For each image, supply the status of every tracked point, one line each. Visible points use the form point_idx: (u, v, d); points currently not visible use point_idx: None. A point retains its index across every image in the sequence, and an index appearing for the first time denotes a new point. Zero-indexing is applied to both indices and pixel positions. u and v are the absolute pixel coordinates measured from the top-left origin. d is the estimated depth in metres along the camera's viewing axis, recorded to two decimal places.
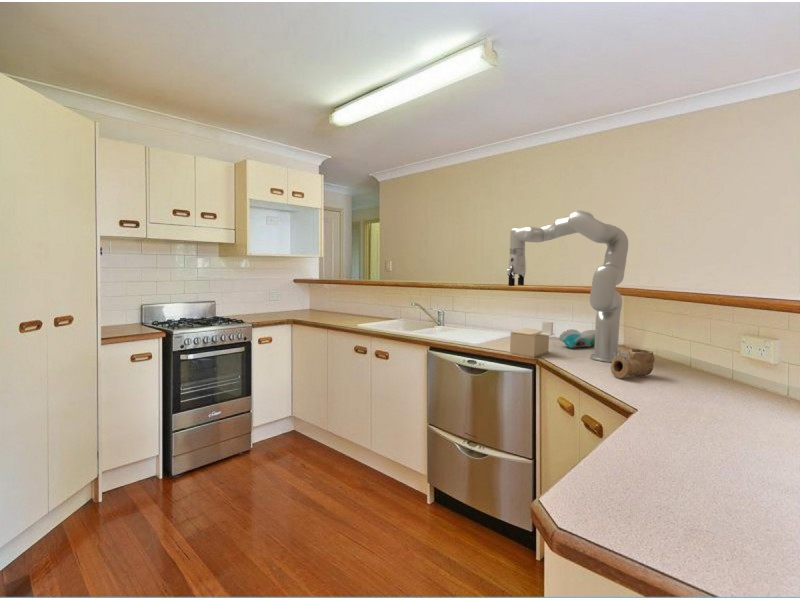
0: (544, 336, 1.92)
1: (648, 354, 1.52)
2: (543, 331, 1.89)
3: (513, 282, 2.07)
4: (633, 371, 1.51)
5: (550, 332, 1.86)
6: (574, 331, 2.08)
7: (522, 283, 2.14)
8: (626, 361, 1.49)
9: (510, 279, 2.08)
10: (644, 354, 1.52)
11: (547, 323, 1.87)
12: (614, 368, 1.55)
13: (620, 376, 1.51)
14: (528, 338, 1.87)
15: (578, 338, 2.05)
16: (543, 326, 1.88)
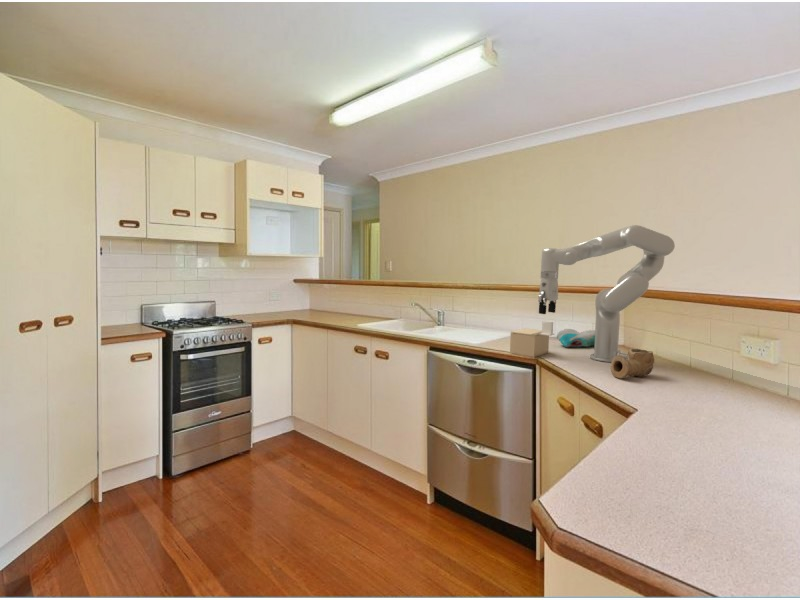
0: (544, 336, 1.92)
1: (648, 354, 1.52)
2: (543, 331, 1.89)
3: (544, 310, 1.83)
4: (633, 371, 1.51)
5: (550, 332, 1.86)
6: (571, 331, 2.09)
7: (553, 310, 1.90)
8: (626, 361, 1.49)
9: (541, 306, 1.83)
10: (644, 354, 1.52)
11: (547, 323, 1.87)
12: (614, 368, 1.55)
13: (620, 376, 1.51)
14: (528, 338, 1.87)
15: (574, 338, 2.06)
16: (543, 326, 1.88)
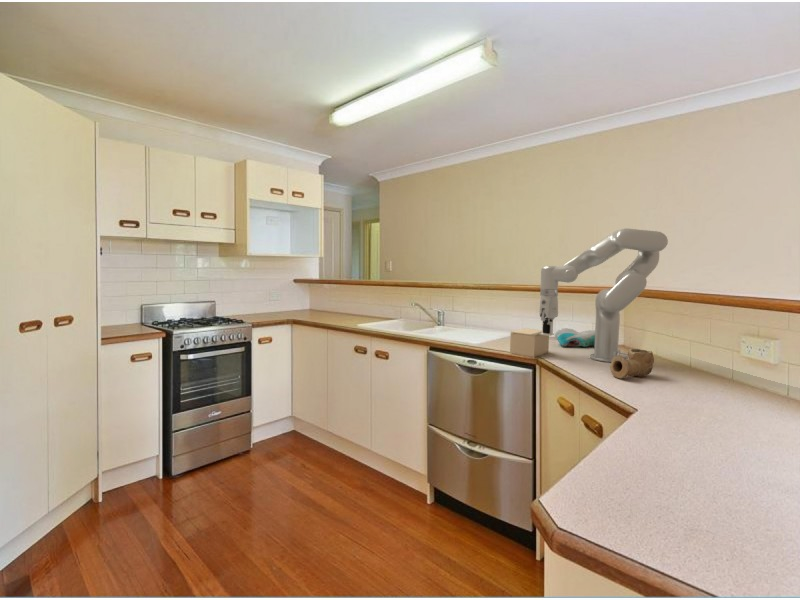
0: (544, 336, 1.92)
1: (647, 354, 1.52)
2: None
3: (548, 329, 1.86)
4: (633, 371, 1.51)
5: (550, 332, 1.86)
6: (569, 330, 2.11)
7: None
8: (626, 361, 1.49)
9: (545, 326, 1.86)
10: (643, 354, 1.52)
11: None
12: (614, 368, 1.54)
13: (620, 376, 1.51)
14: (528, 338, 1.87)
15: (571, 337, 2.08)
16: None
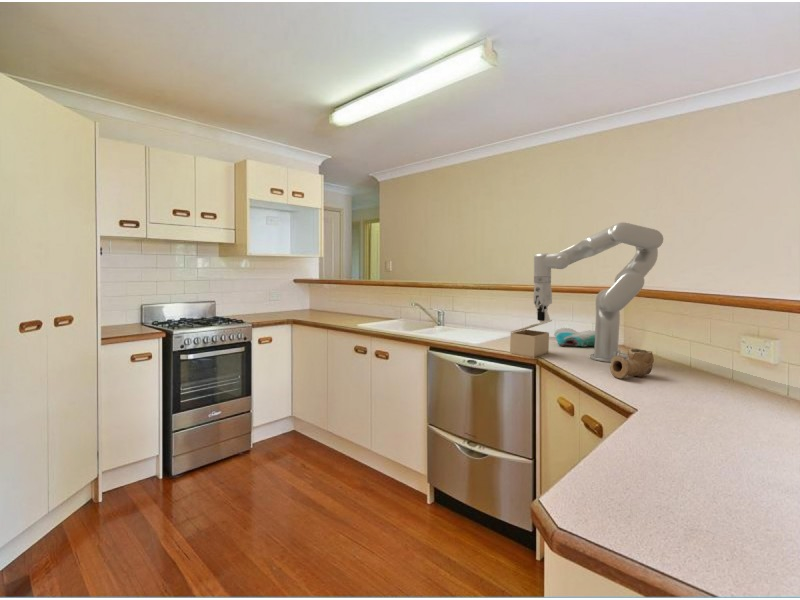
0: (544, 336, 1.92)
1: (647, 354, 1.52)
2: None
3: (543, 316, 1.88)
4: (633, 371, 1.51)
5: (547, 319, 1.87)
6: (568, 330, 2.12)
7: None
8: (625, 361, 1.49)
9: (539, 313, 1.88)
10: (643, 354, 1.52)
11: None
12: (613, 368, 1.54)
13: (619, 376, 1.51)
14: (528, 338, 1.87)
15: (568, 337, 2.09)
16: None
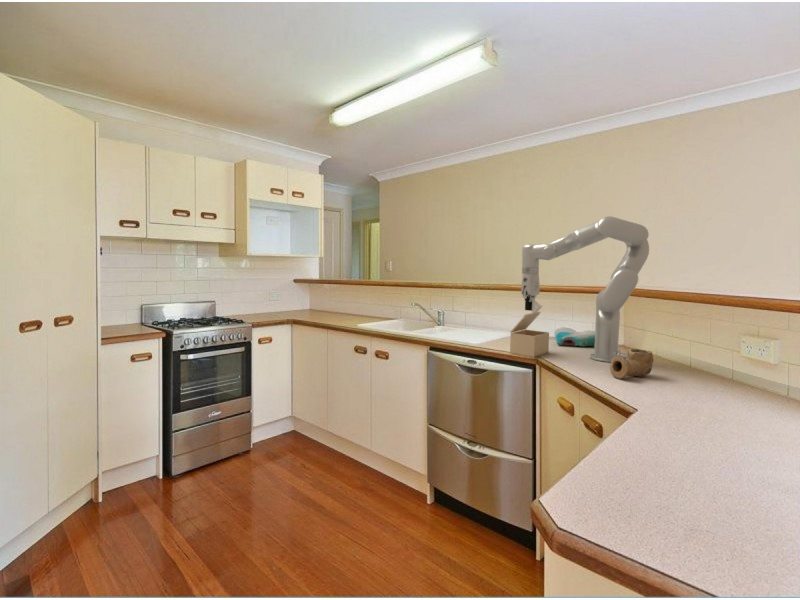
0: (544, 336, 1.92)
1: (647, 354, 1.52)
2: (532, 310, 1.92)
3: (530, 306, 1.92)
4: (632, 371, 1.51)
5: (537, 305, 1.90)
6: (567, 329, 2.13)
7: None
8: (625, 361, 1.49)
9: (527, 303, 1.92)
10: (643, 354, 1.52)
11: None
12: (613, 368, 1.54)
13: (619, 376, 1.51)
14: (528, 338, 1.87)
15: (567, 336, 2.11)
16: None
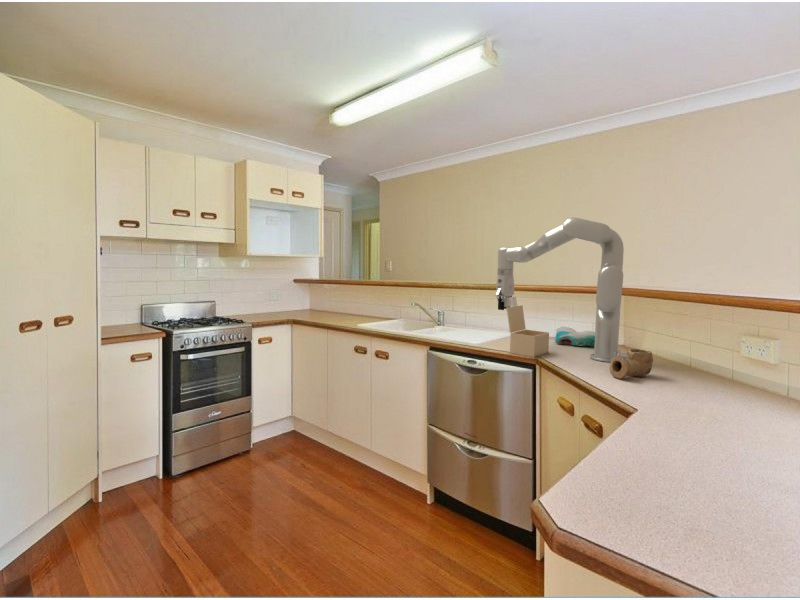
0: (544, 336, 1.92)
1: (647, 354, 1.52)
2: (511, 304, 1.99)
3: (503, 306, 2.00)
4: (632, 371, 1.51)
5: (510, 298, 1.99)
6: (566, 329, 2.16)
7: None
8: (625, 361, 1.49)
9: (500, 303, 2.00)
10: (643, 354, 1.52)
11: None
12: (613, 368, 1.54)
13: (619, 376, 1.51)
14: (528, 338, 1.87)
15: (564, 335, 2.14)
16: (507, 305, 2.01)
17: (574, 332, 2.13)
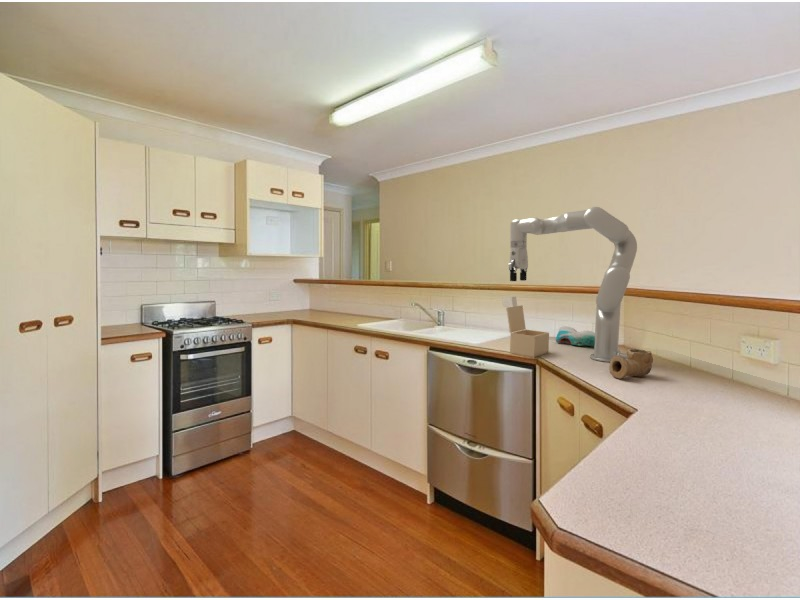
0: (544, 336, 1.92)
1: (646, 354, 1.51)
2: (511, 304, 1.99)
3: (515, 277, 1.94)
4: (632, 371, 1.51)
5: (510, 298, 1.99)
6: (567, 328, 2.17)
7: (524, 278, 2.01)
8: (625, 361, 1.49)
9: (512, 274, 1.95)
10: (642, 354, 1.51)
11: (503, 302, 2.02)
12: (613, 368, 1.54)
13: (619, 376, 1.51)
14: (528, 338, 1.87)
15: (563, 335, 2.16)
16: (507, 305, 2.01)
17: (574, 332, 2.14)
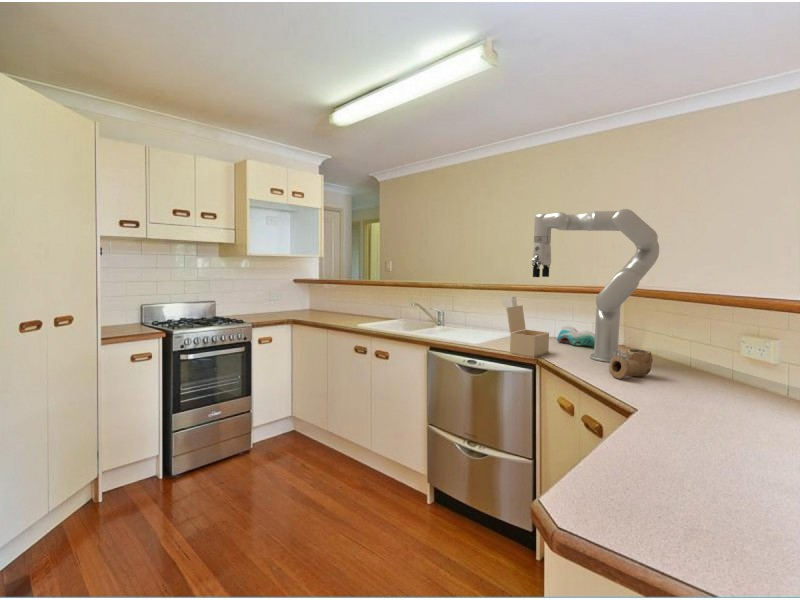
0: (544, 336, 1.92)
1: (646, 354, 1.51)
2: (511, 304, 1.99)
3: (538, 273, 1.89)
4: (632, 371, 1.50)
5: (510, 298, 1.99)
6: (568, 328, 2.19)
7: (547, 274, 1.96)
8: (624, 361, 1.49)
9: (535, 270, 1.90)
10: (642, 354, 1.51)
11: (503, 302, 2.02)
12: (612, 368, 1.54)
13: (618, 376, 1.50)
14: (528, 338, 1.87)
15: (563, 334, 2.17)
16: (507, 305, 2.01)
17: (574, 331, 2.15)
